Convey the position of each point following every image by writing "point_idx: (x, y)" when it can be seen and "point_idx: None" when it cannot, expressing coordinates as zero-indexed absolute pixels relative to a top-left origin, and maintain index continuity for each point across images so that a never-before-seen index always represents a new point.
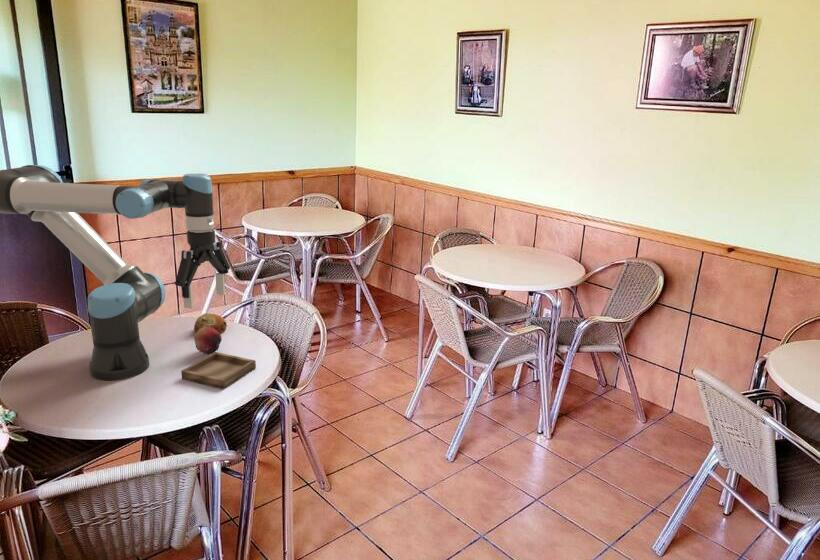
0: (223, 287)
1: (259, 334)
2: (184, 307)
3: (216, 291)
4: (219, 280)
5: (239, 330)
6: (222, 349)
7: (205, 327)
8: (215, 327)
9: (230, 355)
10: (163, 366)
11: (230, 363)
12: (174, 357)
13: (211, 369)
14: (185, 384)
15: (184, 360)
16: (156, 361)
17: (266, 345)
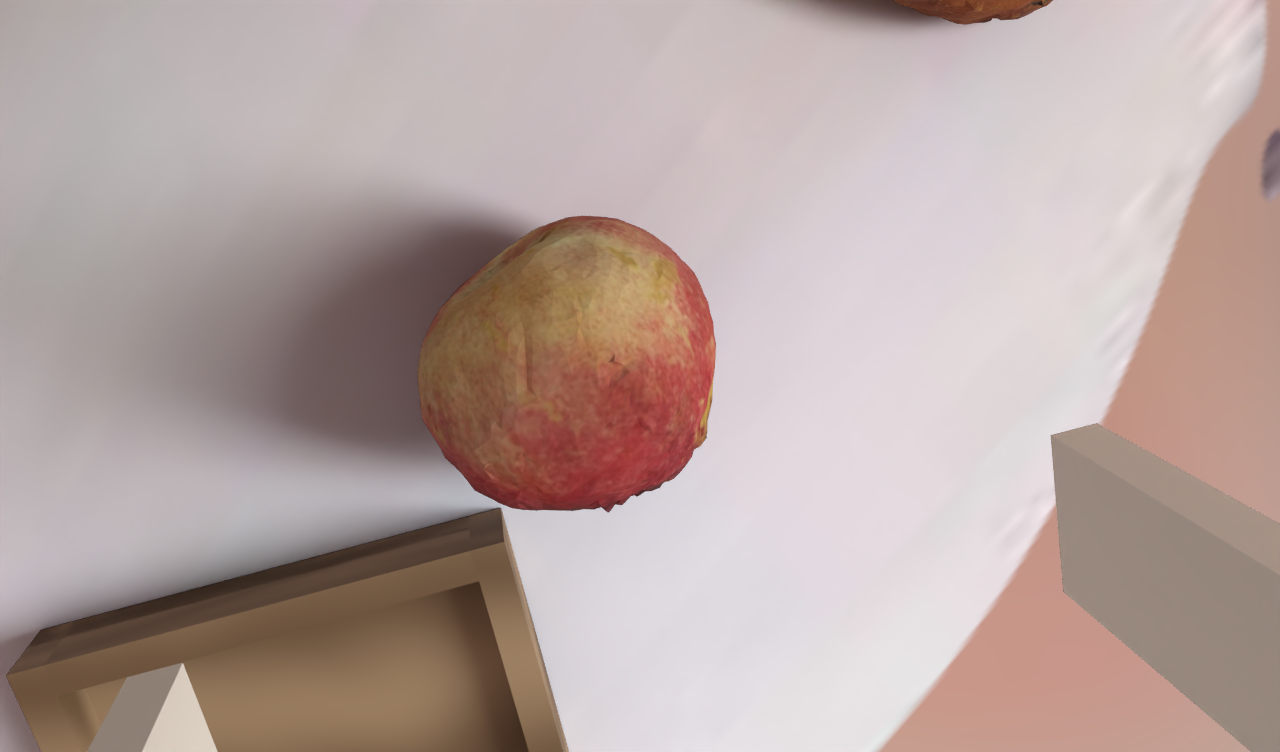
0: (1166, 677)
1: (1135, 337)
2: (128, 680)
3: (1079, 455)
4: (1276, 674)
5: (1120, 96)
6: None
7: (592, 378)
8: (936, 5)
9: (543, 703)
10: (52, 261)
11: (492, 729)
12: (255, 154)
13: (303, 717)
14: (13, 728)
15: (287, 299)
16: (57, 91)
17: (977, 578)
